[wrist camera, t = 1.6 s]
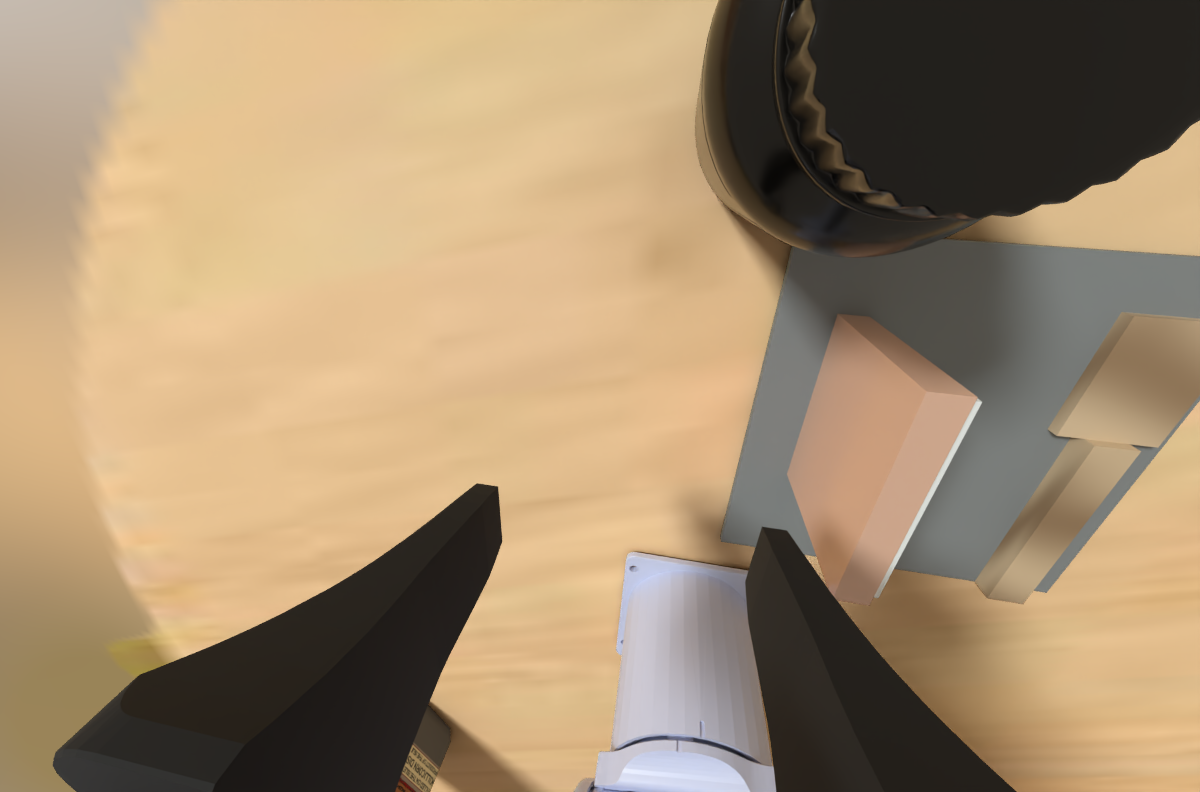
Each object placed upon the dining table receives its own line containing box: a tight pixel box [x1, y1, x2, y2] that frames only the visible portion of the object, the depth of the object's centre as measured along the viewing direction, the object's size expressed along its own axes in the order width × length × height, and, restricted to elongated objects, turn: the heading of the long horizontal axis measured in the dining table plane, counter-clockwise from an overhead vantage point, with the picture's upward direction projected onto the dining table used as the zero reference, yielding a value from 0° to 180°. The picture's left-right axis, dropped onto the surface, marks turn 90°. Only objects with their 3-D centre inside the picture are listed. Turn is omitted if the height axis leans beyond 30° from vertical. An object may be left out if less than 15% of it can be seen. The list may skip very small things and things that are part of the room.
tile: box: [787, 314, 982, 606], centre depth 16 cm, size 8×2×7 cm, turn 177°
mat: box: [720, 239, 1200, 593], centre depth 19 cm, size 16×16×1 cm
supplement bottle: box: [695, 0, 1200, 258], centre depth 10 cm, size 7×7×12 cm
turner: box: [975, 312, 1200, 604], centre depth 18 cm, size 14×4×1 cm, turn 177°
